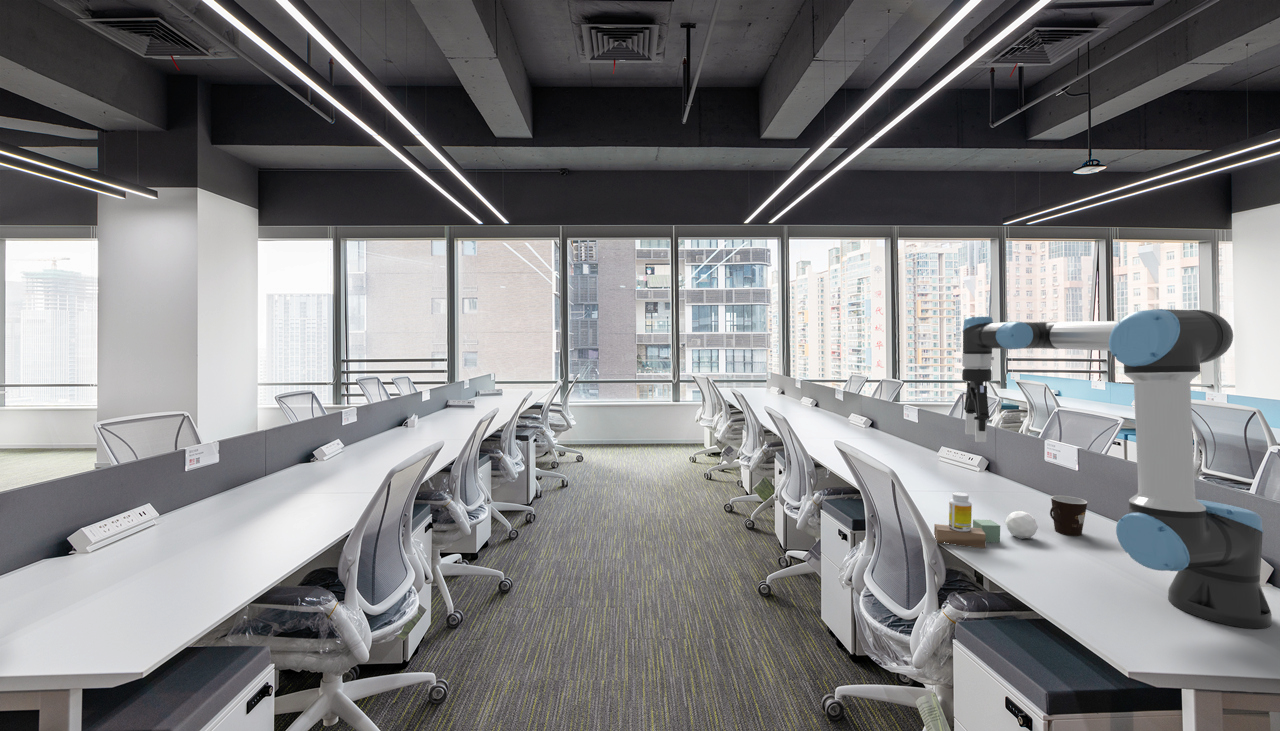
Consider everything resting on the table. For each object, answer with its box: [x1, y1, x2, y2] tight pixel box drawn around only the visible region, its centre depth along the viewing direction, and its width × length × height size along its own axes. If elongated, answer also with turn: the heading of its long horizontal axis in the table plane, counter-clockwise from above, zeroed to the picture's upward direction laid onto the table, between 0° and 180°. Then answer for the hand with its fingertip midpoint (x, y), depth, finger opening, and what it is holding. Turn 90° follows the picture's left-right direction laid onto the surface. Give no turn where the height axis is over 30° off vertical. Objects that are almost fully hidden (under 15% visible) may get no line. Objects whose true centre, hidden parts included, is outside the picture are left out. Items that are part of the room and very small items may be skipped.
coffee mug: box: [1049, 495, 1088, 537], centre depth 163 cm, size 12×9×10 cm
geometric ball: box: [1004, 510, 1039, 540], centre depth 160 cm, size 8×8×8 cm
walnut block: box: [933, 523, 986, 549], centre depth 156 cm, size 5×12×4 cm, turn 69°
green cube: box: [972, 519, 1001, 543], centre depth 159 cm, size 5×5×5 cm
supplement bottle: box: [948, 491, 973, 532], centre depth 155 cm, size 6×6×10 cm
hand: (975, 438), depth 164 cm, fingers open, 13 cm apart
